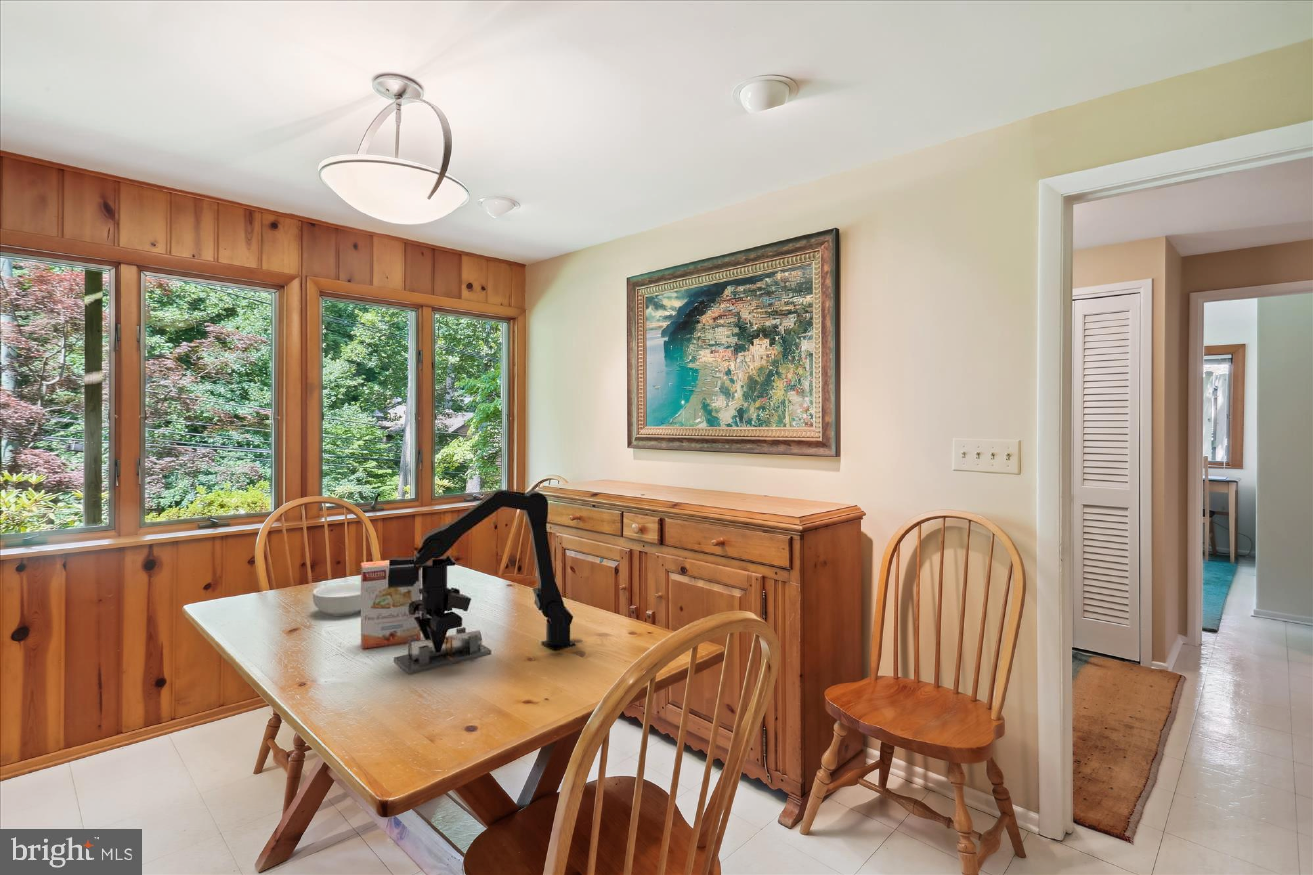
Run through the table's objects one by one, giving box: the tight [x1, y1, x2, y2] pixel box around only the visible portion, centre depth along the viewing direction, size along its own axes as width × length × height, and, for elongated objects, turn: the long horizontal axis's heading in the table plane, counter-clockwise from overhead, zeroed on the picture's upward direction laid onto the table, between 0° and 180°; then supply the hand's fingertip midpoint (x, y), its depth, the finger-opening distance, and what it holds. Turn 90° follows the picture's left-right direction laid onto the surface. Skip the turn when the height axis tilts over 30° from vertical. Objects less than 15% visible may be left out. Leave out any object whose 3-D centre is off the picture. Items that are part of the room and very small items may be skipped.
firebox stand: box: [393, 626, 492, 675], centre depth 155 cm, size 10×20×5 cm, turn 130°
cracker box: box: [360, 559, 422, 650], centre depth 165 cm, size 14×6×21 cm, turn 118°
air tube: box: [410, 629, 483, 660], centre depth 155 cm, size 16×4×4 cm, turn 124°
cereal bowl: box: [312, 581, 361, 617], centre depth 190 cm, size 17×17×7 cm
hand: (434, 649), depth 153 cm, fingers closed on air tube, 4 cm apart
